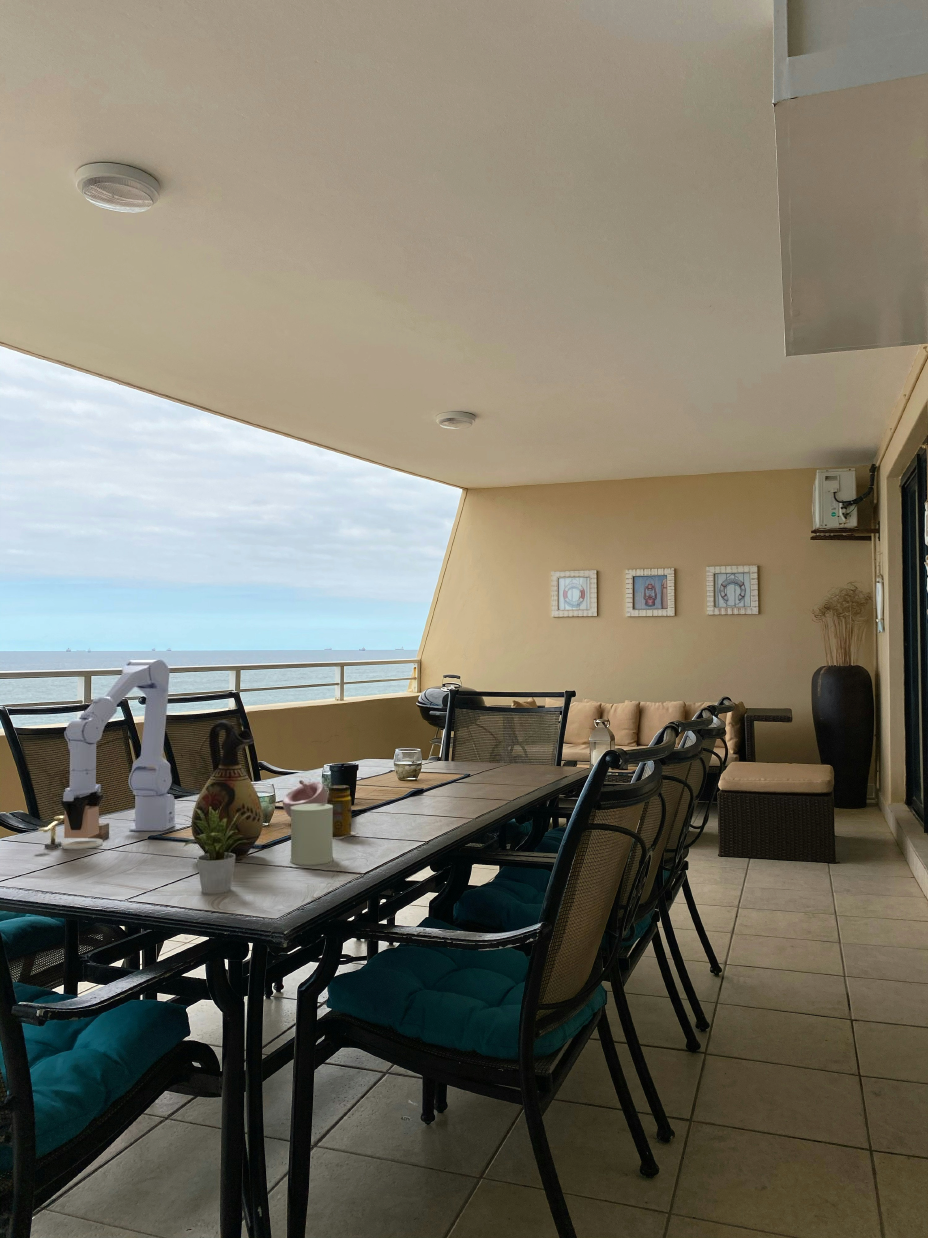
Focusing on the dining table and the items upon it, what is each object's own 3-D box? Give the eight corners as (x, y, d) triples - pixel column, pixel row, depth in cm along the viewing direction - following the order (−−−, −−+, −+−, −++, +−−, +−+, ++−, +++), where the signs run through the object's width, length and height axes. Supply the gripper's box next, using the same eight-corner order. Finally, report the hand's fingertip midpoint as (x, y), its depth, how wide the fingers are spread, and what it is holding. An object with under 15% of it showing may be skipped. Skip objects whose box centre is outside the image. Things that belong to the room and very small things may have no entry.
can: (342, 858, 191) (341, 803, 192) (314, 867, 183) (314, 809, 184) (309, 854, 196) (309, 800, 196) (281, 862, 188) (281, 806, 189)
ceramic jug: (278, 855, 195) (278, 720, 197) (223, 869, 182) (224, 724, 184) (226, 847, 205) (227, 718, 206) (171, 859, 192) (172, 722, 193)
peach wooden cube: (98, 833, 211) (98, 804, 211) (87, 838, 205) (87, 808, 205) (76, 833, 211) (76, 804, 211) (64, 838, 205) (64, 808, 206)
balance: (57, 843, 211) (57, 815, 211) (69, 843, 211) (70, 815, 211) (35, 851, 201) (35, 823, 201) (48, 851, 201) (48, 823, 201)
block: (109, 837, 218) (109, 823, 218) (102, 840, 214) (102, 825, 215) (94, 837, 218) (95, 822, 218) (88, 840, 214) (88, 825, 215)
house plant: (154, 892, 163) (154, 804, 164) (212, 877, 175) (213, 795, 176) (205, 903, 156) (205, 811, 156) (263, 887, 167) (263, 800, 168)
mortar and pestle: (273, 823, 235) (273, 780, 235) (306, 816, 244) (306, 775, 245) (303, 828, 228) (303, 783, 228) (337, 821, 237) (337, 778, 238)
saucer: (109, 841, 212) (109, 838, 212) (91, 849, 203) (91, 846, 203) (72, 841, 212) (72, 838, 212) (53, 849, 203) (53, 846, 204)
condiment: (358, 833, 220) (357, 785, 221) (340, 839, 212) (340, 789, 213) (333, 831, 223) (333, 784, 223) (314, 837, 215) (314, 788, 216)
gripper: (81, 766, 216) (80, 822, 215) (50, 773, 202) (49, 833, 201) (109, 766, 216) (108, 821, 215) (80, 773, 201) (80, 833, 201)
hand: (82, 827), depth 208 cm, fingers closed on peach wooden cube, 6 cm apart
